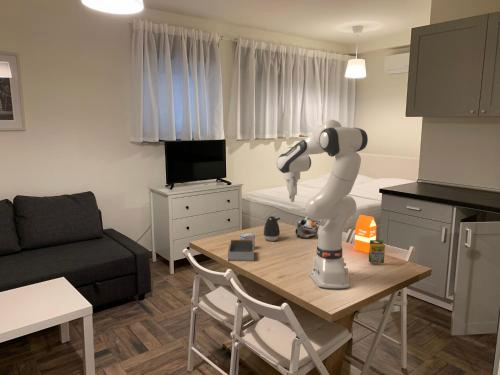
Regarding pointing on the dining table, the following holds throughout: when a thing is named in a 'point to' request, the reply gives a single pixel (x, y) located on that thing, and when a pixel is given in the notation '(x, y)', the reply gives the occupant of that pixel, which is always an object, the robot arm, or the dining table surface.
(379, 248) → the crayon box
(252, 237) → the medicine box
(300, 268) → the dining table surface
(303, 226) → the lucky cat figurine
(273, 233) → the pump dispenser
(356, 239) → the orange juice
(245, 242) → the metal drawer
